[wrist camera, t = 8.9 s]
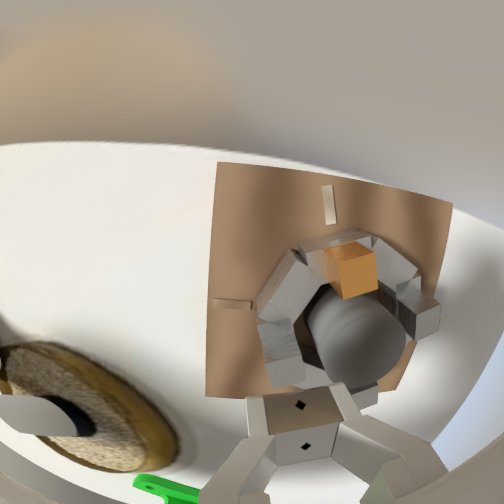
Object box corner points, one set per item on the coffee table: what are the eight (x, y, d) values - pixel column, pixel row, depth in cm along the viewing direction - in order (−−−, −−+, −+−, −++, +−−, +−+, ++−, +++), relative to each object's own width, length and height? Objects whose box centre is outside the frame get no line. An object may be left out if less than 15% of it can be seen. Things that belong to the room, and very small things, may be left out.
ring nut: (240, 257, 21) (241, 287, 15) (398, 216, 20) (442, 230, 15) (277, 386, 24) (285, 431, 18) (401, 345, 24) (430, 379, 18)
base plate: (206, 389, 26) (198, 449, 18) (218, 162, 20) (205, 151, 12) (392, 385, 27) (420, 428, 19) (446, 202, 21) (504, 214, 14)
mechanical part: (206, 490, 33) (204, 525, 25) (193, 498, 34) (190, 529, 26) (142, 469, 31) (133, 505, 23) (134, 478, 32) (126, 510, 24)
